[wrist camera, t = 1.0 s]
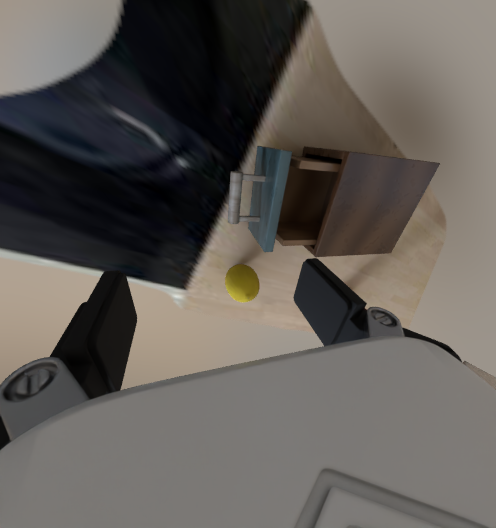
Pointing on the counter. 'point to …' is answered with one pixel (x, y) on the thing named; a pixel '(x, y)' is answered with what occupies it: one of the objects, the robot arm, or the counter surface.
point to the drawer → (284, 197)
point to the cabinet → (369, 201)
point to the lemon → (242, 283)
